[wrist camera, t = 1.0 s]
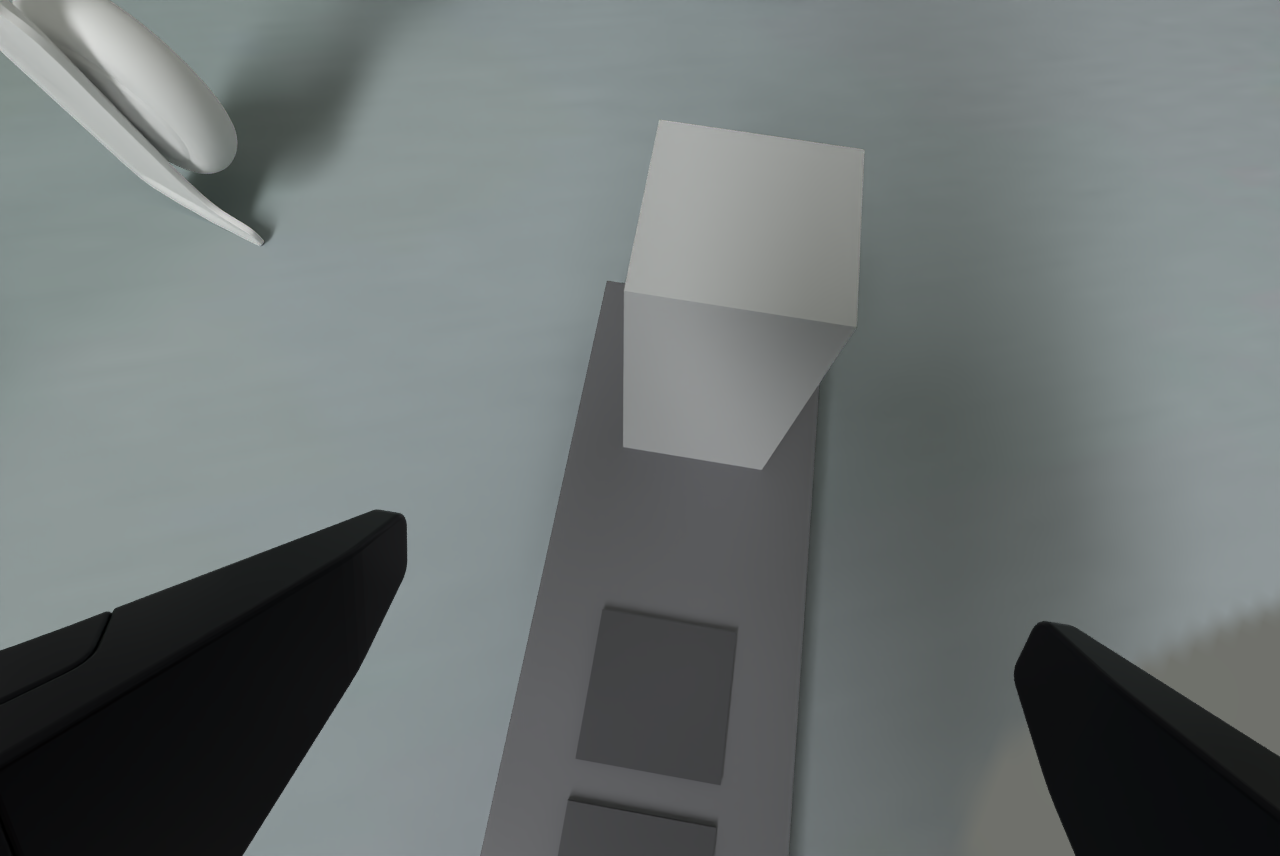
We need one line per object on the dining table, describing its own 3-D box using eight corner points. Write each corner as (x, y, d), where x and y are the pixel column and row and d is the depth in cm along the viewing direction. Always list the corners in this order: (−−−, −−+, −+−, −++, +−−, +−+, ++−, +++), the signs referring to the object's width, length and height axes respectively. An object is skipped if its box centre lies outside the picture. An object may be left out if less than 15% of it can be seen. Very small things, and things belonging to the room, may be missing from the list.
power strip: (740, 1139, 17) (769, 1252, 13) (447, 1079, 17) (405, 1176, 14) (802, 354, 26) (829, 305, 22) (608, 323, 26) (606, 270, 23)
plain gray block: (745, 493, 23) (856, 326, 12) (623, 473, 23) (624, 291, 12) (757, 382, 25) (864, 149, 14) (643, 364, 25) (659, 119, 14)
